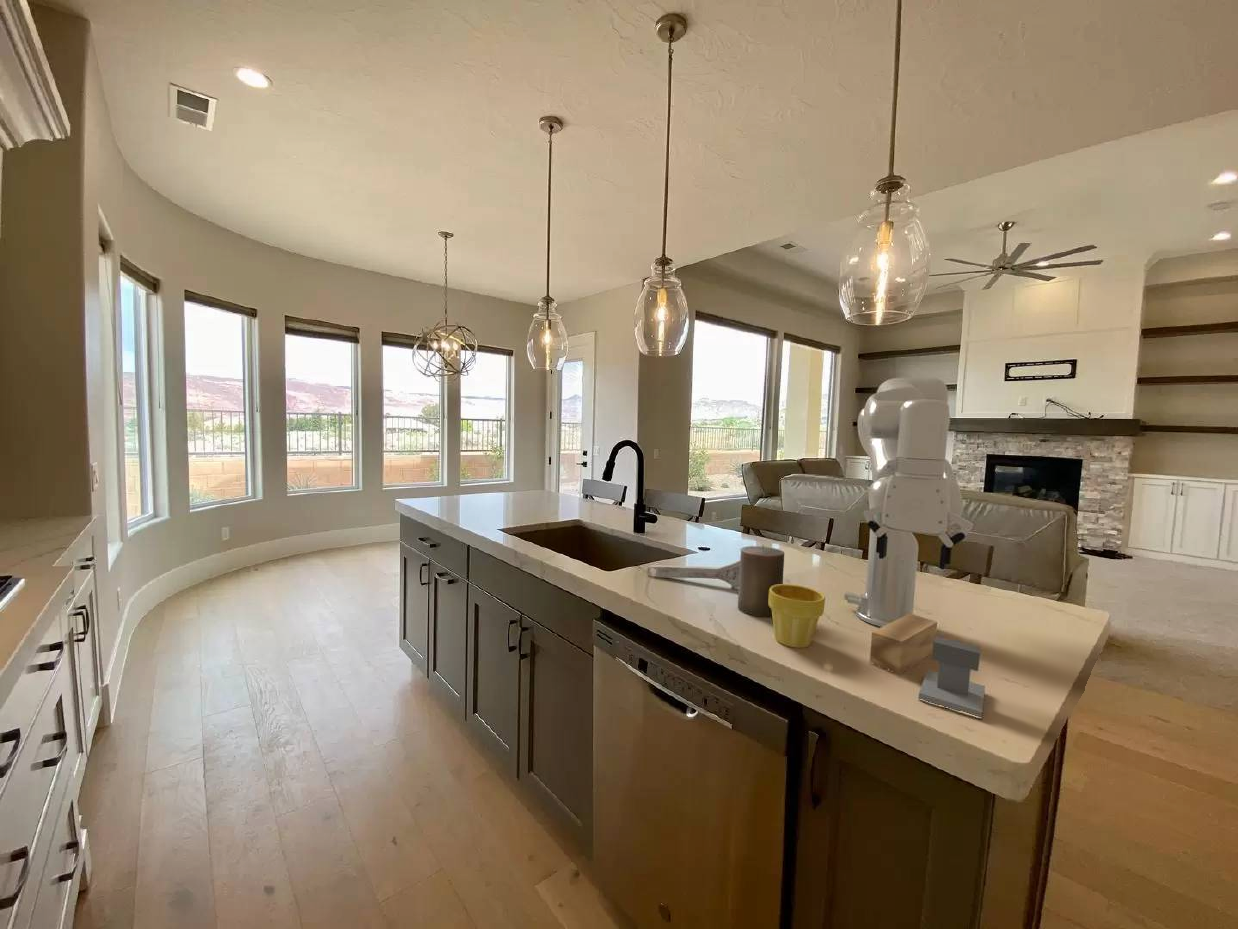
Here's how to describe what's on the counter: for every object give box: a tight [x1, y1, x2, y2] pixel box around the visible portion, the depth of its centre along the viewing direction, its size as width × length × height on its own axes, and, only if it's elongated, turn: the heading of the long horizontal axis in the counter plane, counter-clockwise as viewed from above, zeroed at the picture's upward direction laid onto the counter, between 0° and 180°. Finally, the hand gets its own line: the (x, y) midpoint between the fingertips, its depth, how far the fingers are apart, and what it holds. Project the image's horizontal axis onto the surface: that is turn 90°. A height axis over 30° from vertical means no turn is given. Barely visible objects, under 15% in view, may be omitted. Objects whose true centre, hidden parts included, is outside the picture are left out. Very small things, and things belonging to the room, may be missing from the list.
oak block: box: [869, 614, 938, 675], centre depth 95 cm, size 5×16×6 cm, turn 129°
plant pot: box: [768, 583, 826, 648], centre depth 100 cm, size 10×10×10 cm
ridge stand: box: [918, 635, 986, 719], centre depth 81 cm, size 8×10×8 cm
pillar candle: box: [737, 544, 785, 618], centre depth 116 cm, size 10×10×15 cm
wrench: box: [646, 559, 740, 591], centre depth 135 cm, size 8×2×30 cm
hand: (911, 562), depth 93 cm, fingers open, 9 cm apart
